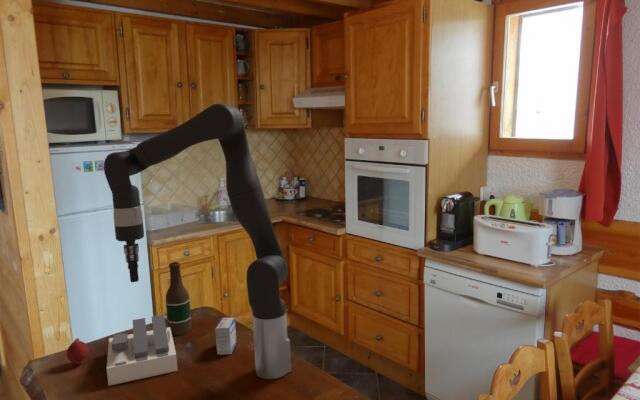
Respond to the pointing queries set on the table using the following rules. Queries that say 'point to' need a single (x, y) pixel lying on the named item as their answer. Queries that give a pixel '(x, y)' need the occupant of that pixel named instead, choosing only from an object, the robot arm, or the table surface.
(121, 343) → the grey board
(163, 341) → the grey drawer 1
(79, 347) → the onion
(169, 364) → the board rack
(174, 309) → the beer bottle
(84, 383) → the table surface
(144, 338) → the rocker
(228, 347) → the medicine box
